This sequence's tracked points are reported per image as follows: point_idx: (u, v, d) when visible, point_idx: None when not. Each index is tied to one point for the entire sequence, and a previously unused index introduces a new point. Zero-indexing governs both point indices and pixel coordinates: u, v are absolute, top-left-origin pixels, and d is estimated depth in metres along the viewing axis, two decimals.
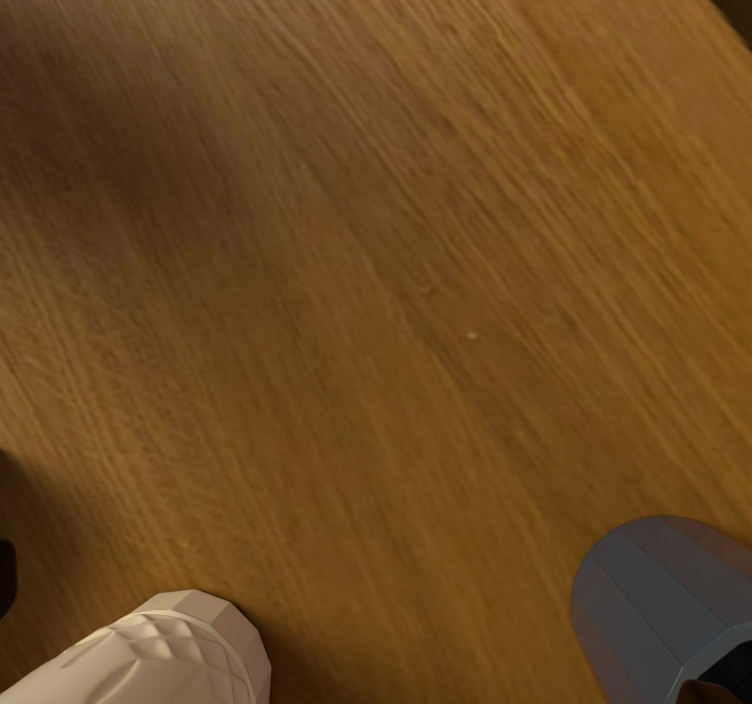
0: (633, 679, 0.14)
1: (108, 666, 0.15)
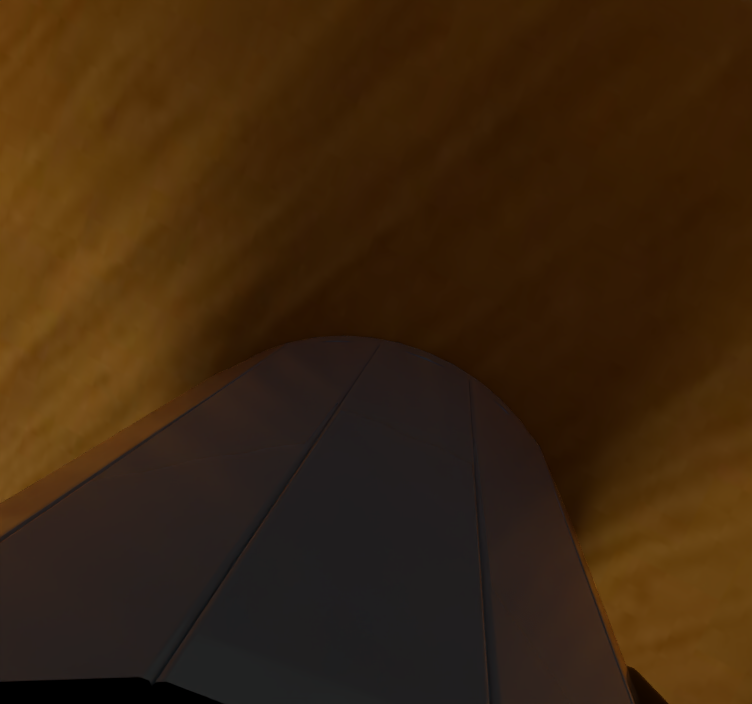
0: None
1: None
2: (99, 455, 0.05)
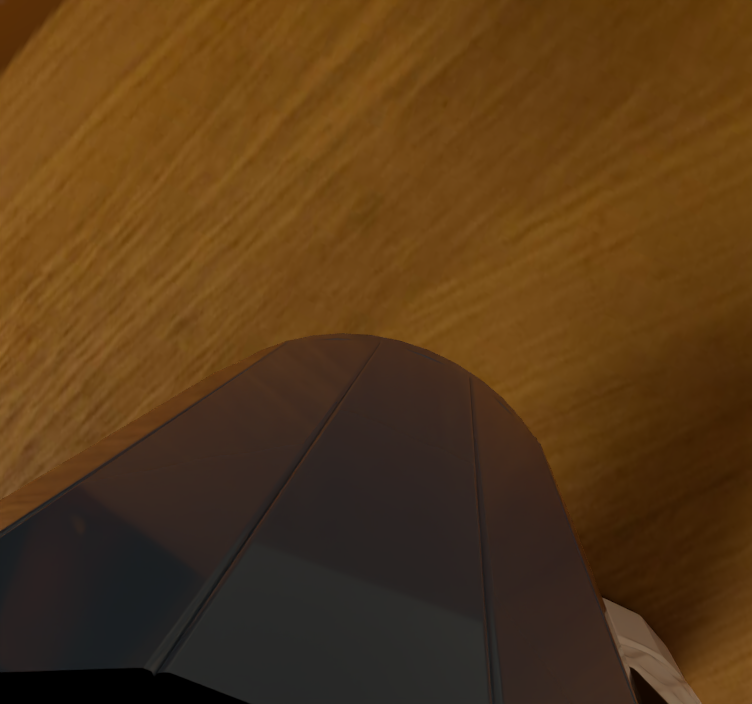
0: None
1: None
2: (99, 452, 0.05)
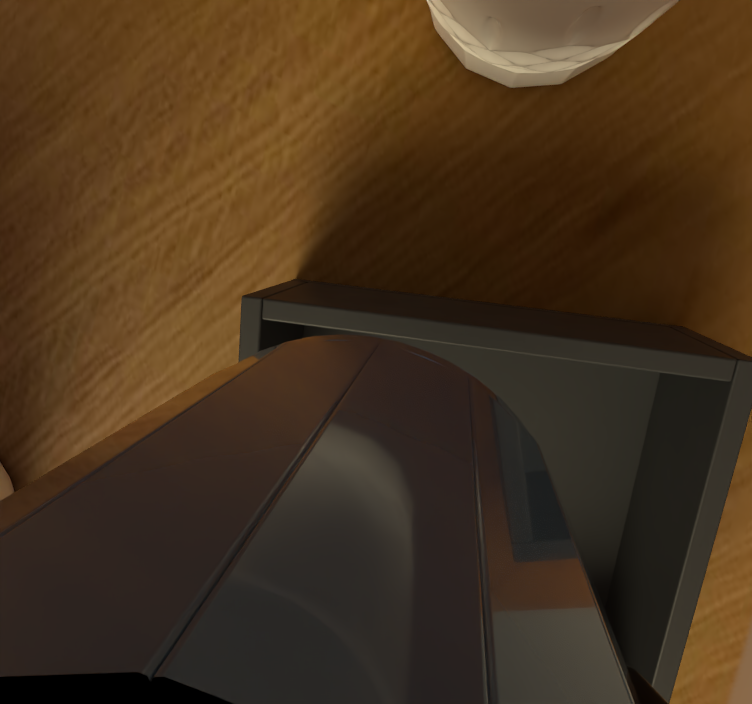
0: None
1: None
2: (98, 453, 0.05)
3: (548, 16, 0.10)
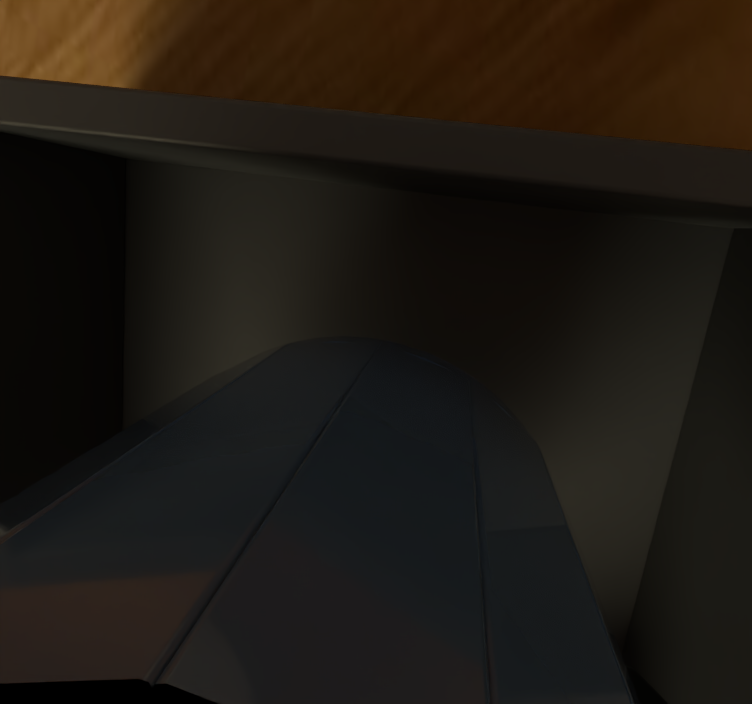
0: None
1: None
2: (98, 456, 0.05)
3: None
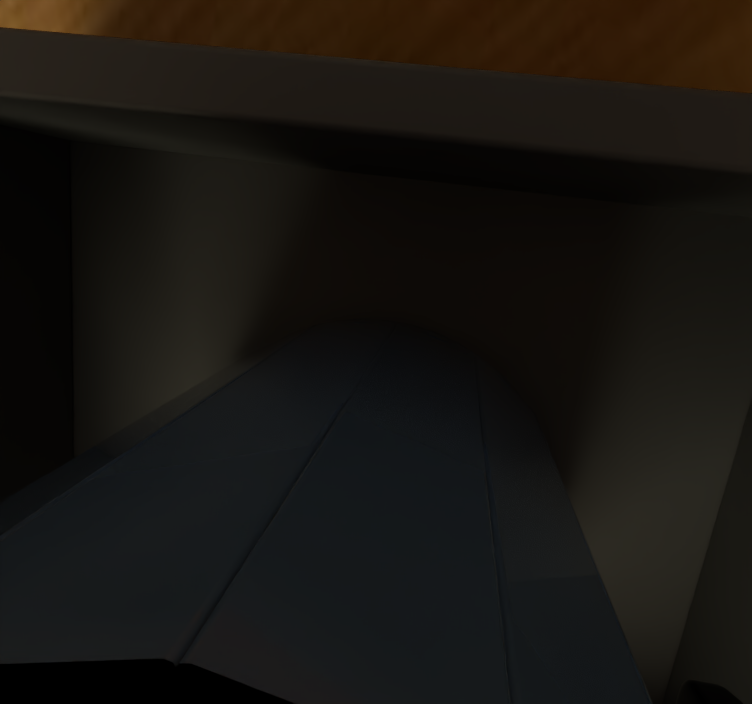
0: None
1: None
2: (180, 403, 0.06)
3: None
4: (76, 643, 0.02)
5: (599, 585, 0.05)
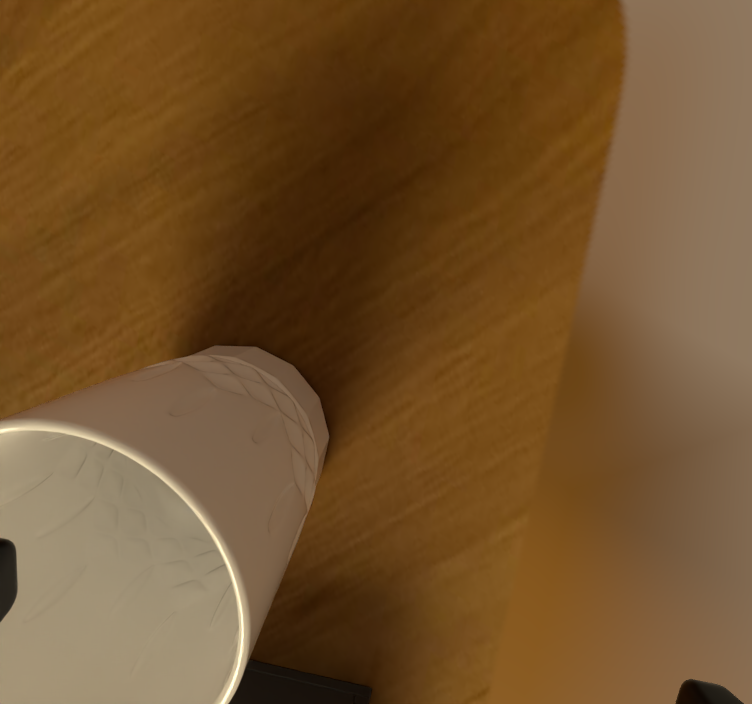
0: None
1: None
2: None
3: None
4: None
5: None
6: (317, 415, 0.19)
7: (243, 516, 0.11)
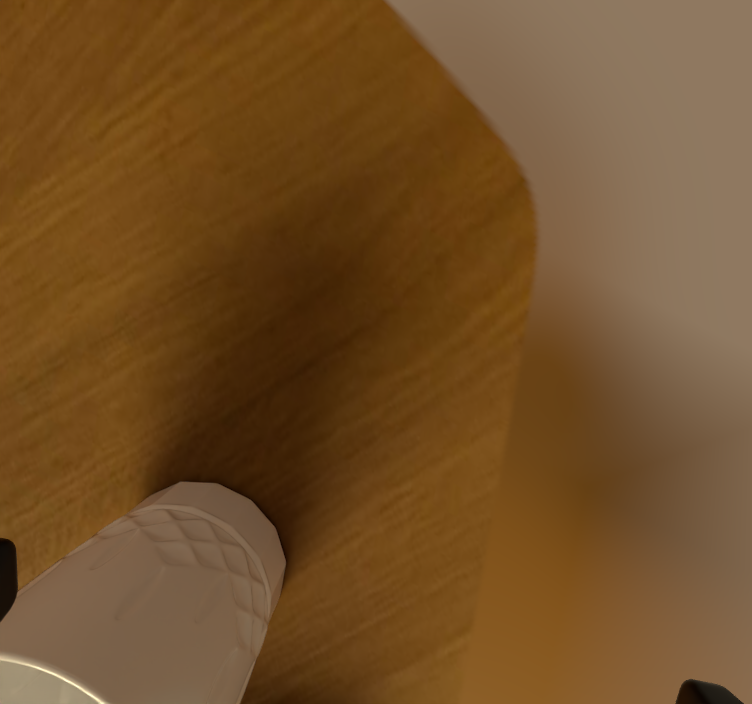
0: None
1: None
2: None
3: None
4: None
5: None
6: (272, 549, 0.21)
7: None
